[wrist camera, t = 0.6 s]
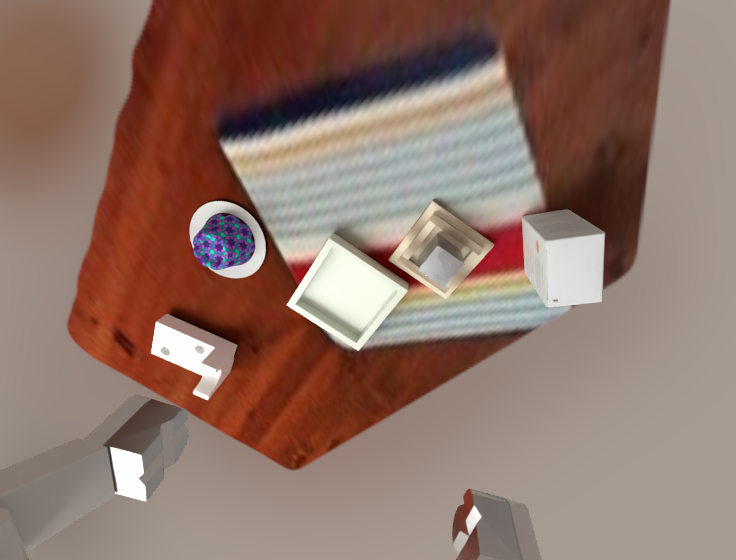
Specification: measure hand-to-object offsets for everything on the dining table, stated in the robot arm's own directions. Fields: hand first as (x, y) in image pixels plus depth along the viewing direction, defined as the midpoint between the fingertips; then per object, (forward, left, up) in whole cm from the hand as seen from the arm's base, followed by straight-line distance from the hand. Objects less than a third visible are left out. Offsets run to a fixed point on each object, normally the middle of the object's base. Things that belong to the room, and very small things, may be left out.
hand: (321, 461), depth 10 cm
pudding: (+21, -18, -41) cm, 49 cm away
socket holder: (+4, +8, -40) cm, 41 cm away
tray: (+17, +1, -40) cm, 43 cm away
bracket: (+42, -14, -41) cm, 60 cm away
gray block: (+4, +8, -39) cm, 40 cm away
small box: (-5, +18, -40) cm, 45 cm away
